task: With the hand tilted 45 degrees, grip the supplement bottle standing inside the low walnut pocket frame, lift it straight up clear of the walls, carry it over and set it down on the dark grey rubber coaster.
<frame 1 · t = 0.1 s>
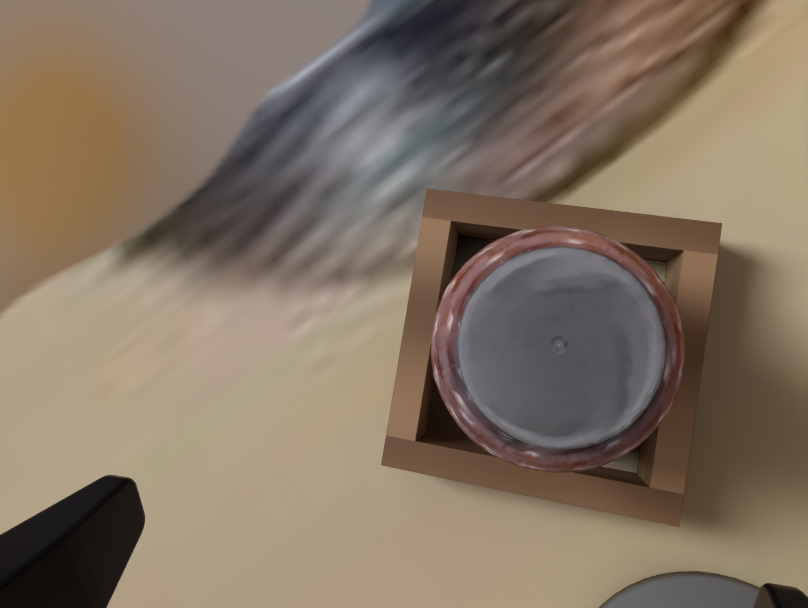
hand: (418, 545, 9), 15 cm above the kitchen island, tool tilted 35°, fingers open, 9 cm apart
pocket: (544, 349, 24), on the kitchen island
supplement bottle: (544, 349, 24), resting in pocket
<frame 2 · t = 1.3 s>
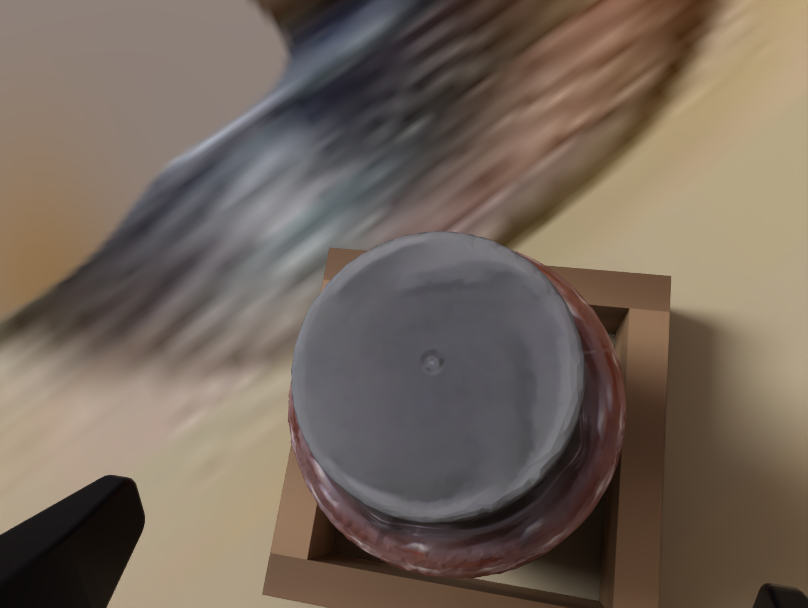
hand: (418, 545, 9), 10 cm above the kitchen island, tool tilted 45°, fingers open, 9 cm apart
pocket: (476, 441, 19), on the kitchen island
supplement bottle: (476, 441, 19), resting in pocket
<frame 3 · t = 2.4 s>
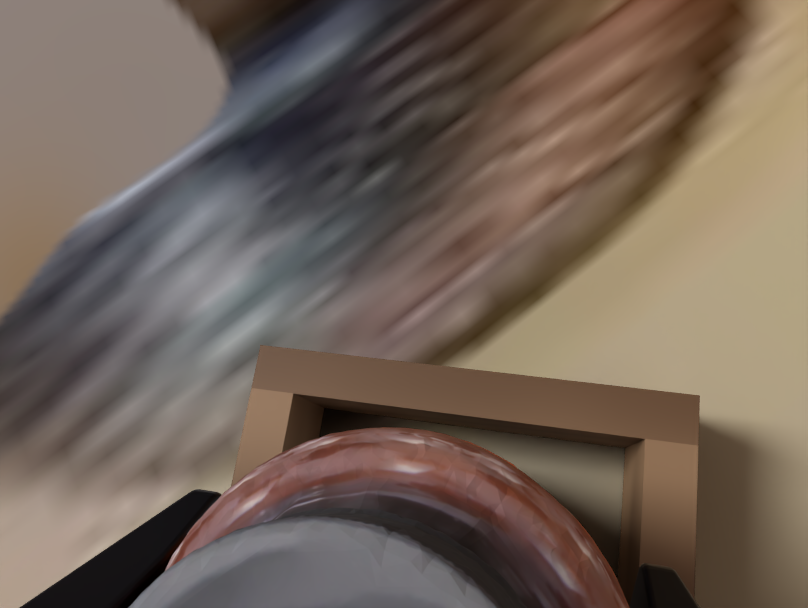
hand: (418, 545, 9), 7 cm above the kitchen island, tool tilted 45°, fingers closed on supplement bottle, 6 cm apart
pocket: (448, 588, 15), on the kitchen island
supplement bottle: (449, 586, 15), resting in pocket, touching gripper
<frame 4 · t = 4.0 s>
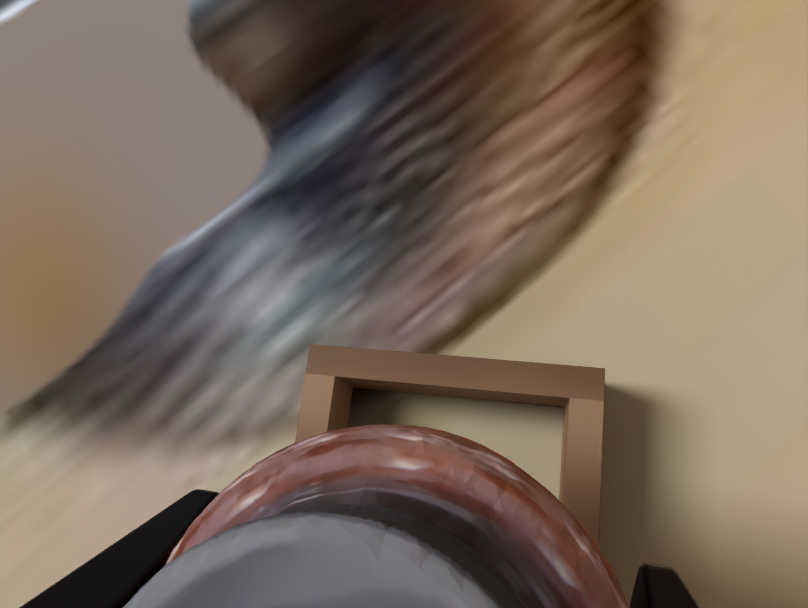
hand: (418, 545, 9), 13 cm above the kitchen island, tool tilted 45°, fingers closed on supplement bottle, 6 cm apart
pocket: (444, 507, 22), on the kitchen island
supplement bottle: (449, 584, 15), point 6 cm above the kitchen island, touching gripper
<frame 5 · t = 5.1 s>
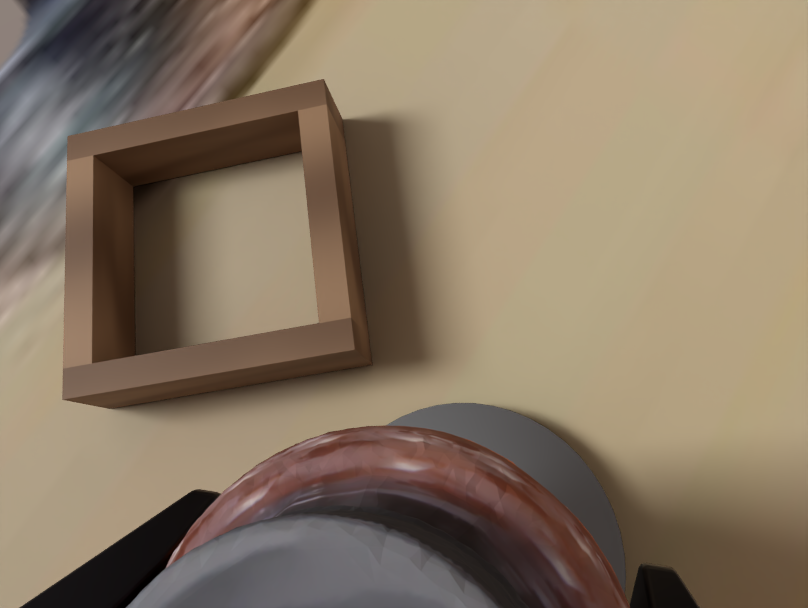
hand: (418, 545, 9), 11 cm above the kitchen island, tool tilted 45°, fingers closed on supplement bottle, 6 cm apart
coaster: (465, 555, 20), on the kitchen island
pocket: (229, 258, 24), on the kitchen island
supplement bottle: (450, 585, 15), point 4 cm above the kitchen island, touching gripper
when the fingers open (9 cm above the kitchen island, at t = 6.0 s): supplement bottle drops 1 cm, resting on coaster.
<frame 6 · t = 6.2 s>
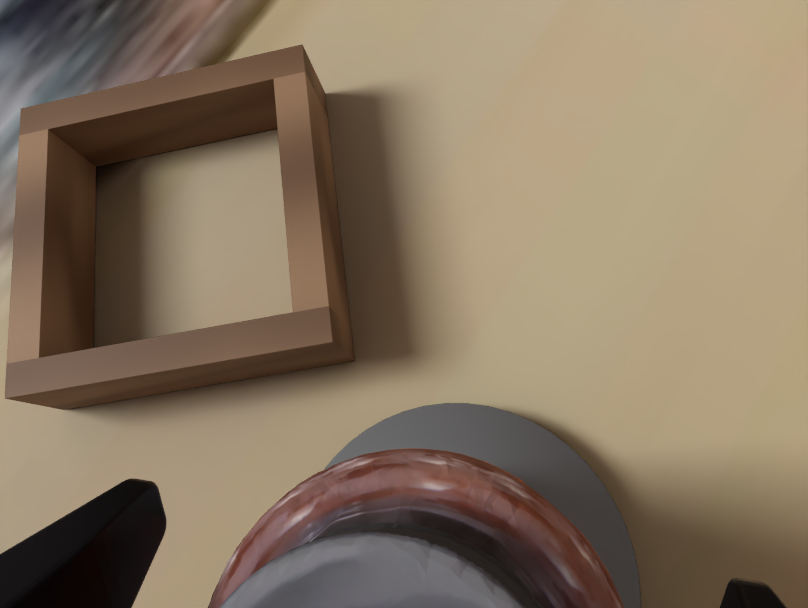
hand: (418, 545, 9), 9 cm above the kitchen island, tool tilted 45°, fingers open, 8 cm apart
coaster: (458, 576, 17), on the kitchen island
pocket: (199, 244, 21), on the kitchen island
supplement bottle: (455, 585, 17), point 1 cm above the kitchen island, touching coaster
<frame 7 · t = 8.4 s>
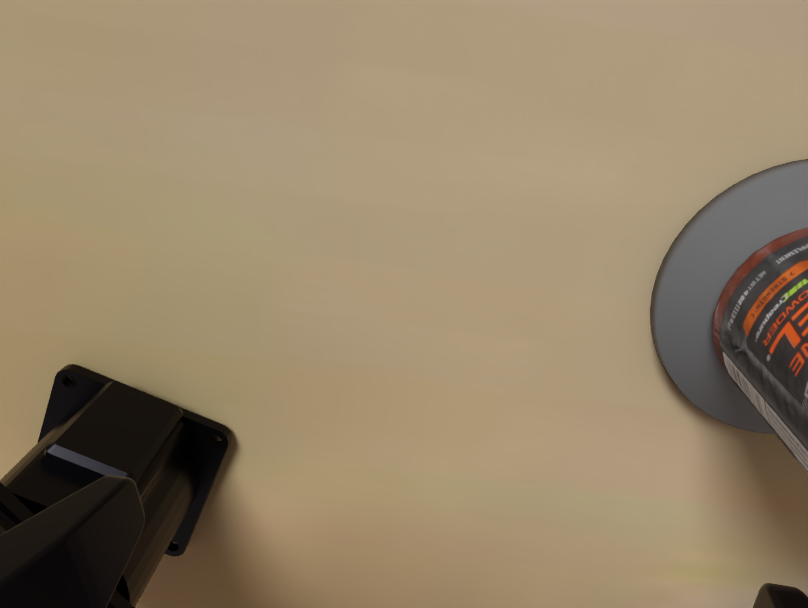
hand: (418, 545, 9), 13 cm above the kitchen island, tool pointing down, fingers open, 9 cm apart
coaster: (795, 300, 21), on the kitchen island
supplement bottle: (800, 309, 20), point 1 cm above the kitchen island, touching coaster
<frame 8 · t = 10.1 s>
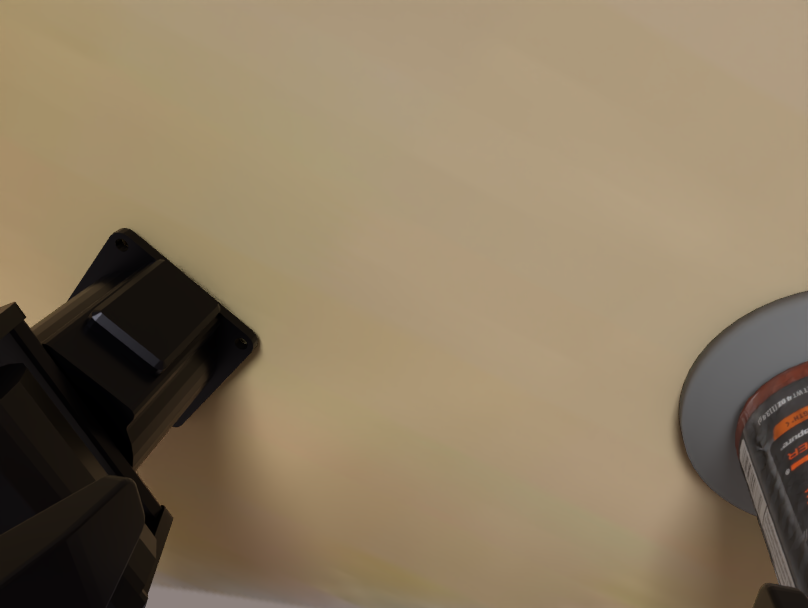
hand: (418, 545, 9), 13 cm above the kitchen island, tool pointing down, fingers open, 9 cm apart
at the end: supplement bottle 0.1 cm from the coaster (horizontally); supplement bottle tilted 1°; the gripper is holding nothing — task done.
